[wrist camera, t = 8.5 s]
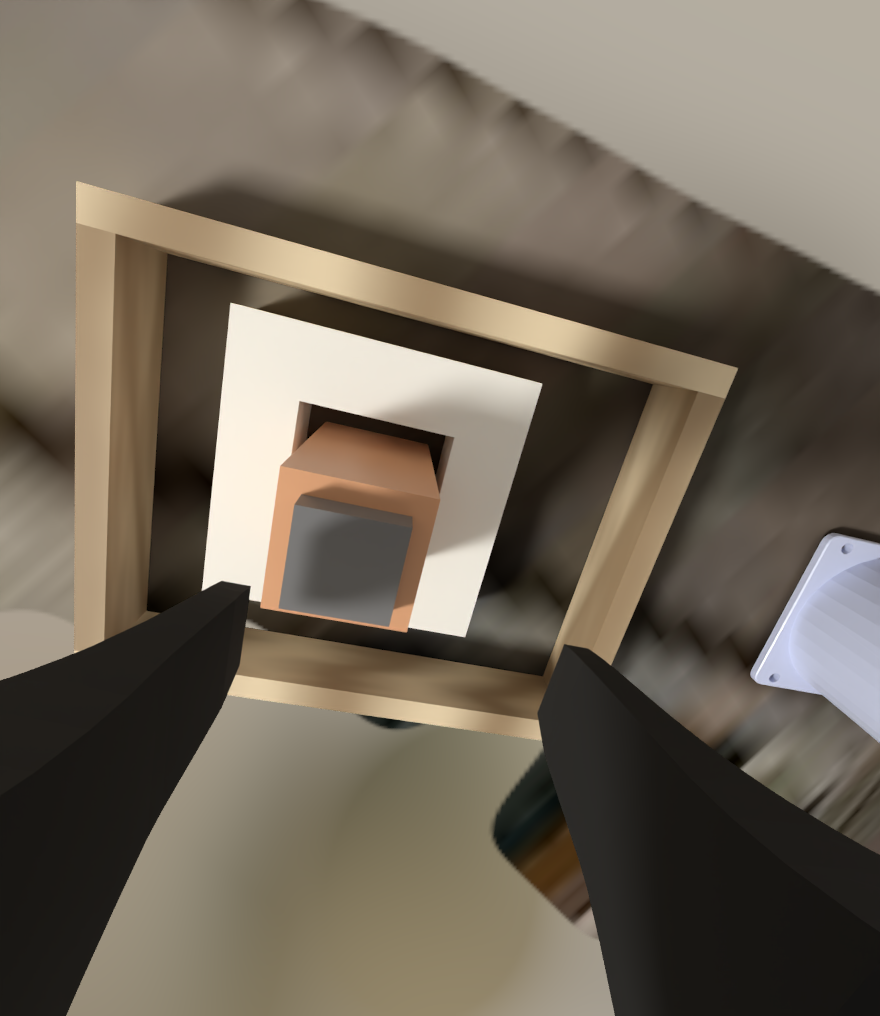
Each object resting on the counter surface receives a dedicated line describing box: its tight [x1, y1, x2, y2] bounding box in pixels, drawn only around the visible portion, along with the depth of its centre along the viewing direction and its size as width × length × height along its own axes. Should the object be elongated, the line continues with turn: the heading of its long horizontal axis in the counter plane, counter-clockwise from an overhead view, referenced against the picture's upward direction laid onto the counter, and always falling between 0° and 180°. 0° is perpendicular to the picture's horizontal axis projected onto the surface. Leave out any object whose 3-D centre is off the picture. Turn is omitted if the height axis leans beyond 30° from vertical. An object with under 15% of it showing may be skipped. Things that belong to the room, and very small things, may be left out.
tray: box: [74, 181, 738, 740], centre depth 18 cm, size 20×16×3 cm
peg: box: [260, 421, 441, 632], centre depth 15 cm, size 4×4×8 cm
